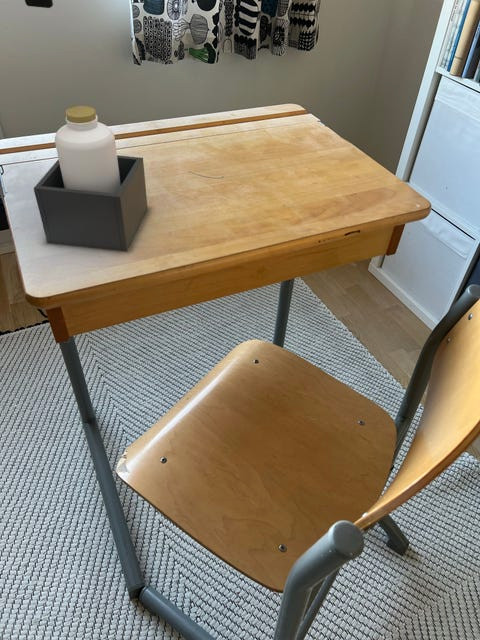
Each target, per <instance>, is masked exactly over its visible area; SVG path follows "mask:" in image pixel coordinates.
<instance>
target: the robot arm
mask: <svg viewBox="0 0 480 640" xmlns="http://www.w3.org/2000/svg"><path fill="white" fill-rule="evenodd" d="M24 3H25V5H26V6H27V7H32V8H33V7H34V8H43V9H44V8H45V9H51V8H52V7H53V6H54V2H53V0H24Z"/></svg>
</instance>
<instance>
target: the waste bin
mask: <svg viewBox="0 0 480 640" xmlns="http://www.w3.org/2000/svg"><path fill="white" fill-rule="evenodd" d="M117 160H118V168H119V176H120V183H121V187H120V188H119V190H118V192H117V193H116V194H114V193H104V192H94V191H84V190H74V189H65V187H64V182H63V178H62V173H61V168H60V163H59V159H57V160H56V161H55V162H54V164H53V165H52V166H51V167H50V168H49V169H48V171H47V172H46V173H45V174H44V175H43V177H42V178H41V179H40V180H39V181H38V182H37V183H36V185H34V187H33V192H34V196H35V199H36V203H37V204H36V205H37V208H38V212H39V215H40V220H41V224H42V228H43V231H44V236H45V240H46V244H49V245H58V246H70V247H77V248H78V247H79V248H88V249H97V250H104V251H105V250H106V251H116V252H117V251H118V252H125V253H126V252H128V251H129V249H130V247H131V245H132V243H133V242H134V239H135V237H136V235H137V233H138V231H139V228H140V227H141V225H142V223H143V220H144V219H145V216H146V214H147V212H148V210H149V209H148V198H147V197H148V196H147V188H146V187H147V186H146V174H145V163H144V158H143V157H138V156H130V155H129V156H127V155H118V154H117Z"/></svg>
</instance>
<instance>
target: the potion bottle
mask: <svg viewBox="0 0 480 640" xmlns="http://www.w3.org/2000/svg"><path fill="white" fill-rule="evenodd" d="M96 112H97V111H96V109H95V107H92V106H89V105H88V106H87V105H76V106H72V107H69V108H67V109H66V110H65V112H64V113H65V122H66V124H64V125H62V126H61V127H60V128H59V129H57V131H56V133H55V136H54V144H55V149H56V153H57V158H58V159H59V163H60V168H61V173H62V178H63V182H64V187H65V189H74V190H84V191H94V192H104V193H114V194H116V193H117V192H118V190H119V188H120V187H121V183H120V176H119V168H118V160H117V155H118V153H117V145H116V138H115V133H114V132H113V130H112V129H111V128H110V127H109V126H108V125H106V124H105V123H102V122H99V121H98V119H99V117H98V115H97V113H96ZM58 159H57V160H58Z"/></svg>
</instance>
